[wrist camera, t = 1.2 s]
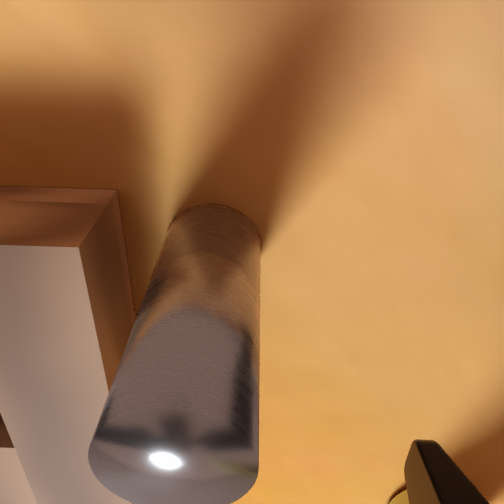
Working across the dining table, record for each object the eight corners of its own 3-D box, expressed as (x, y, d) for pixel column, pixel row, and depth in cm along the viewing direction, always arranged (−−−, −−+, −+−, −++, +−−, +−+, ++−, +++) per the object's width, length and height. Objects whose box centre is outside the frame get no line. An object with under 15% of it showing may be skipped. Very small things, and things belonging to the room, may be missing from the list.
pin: (262, 205, 14) (261, 413, 8) (258, 286, 16) (256, 515, 9) (162, 202, 14) (73, 407, 8) (169, 283, 16) (101, 509, 9)
